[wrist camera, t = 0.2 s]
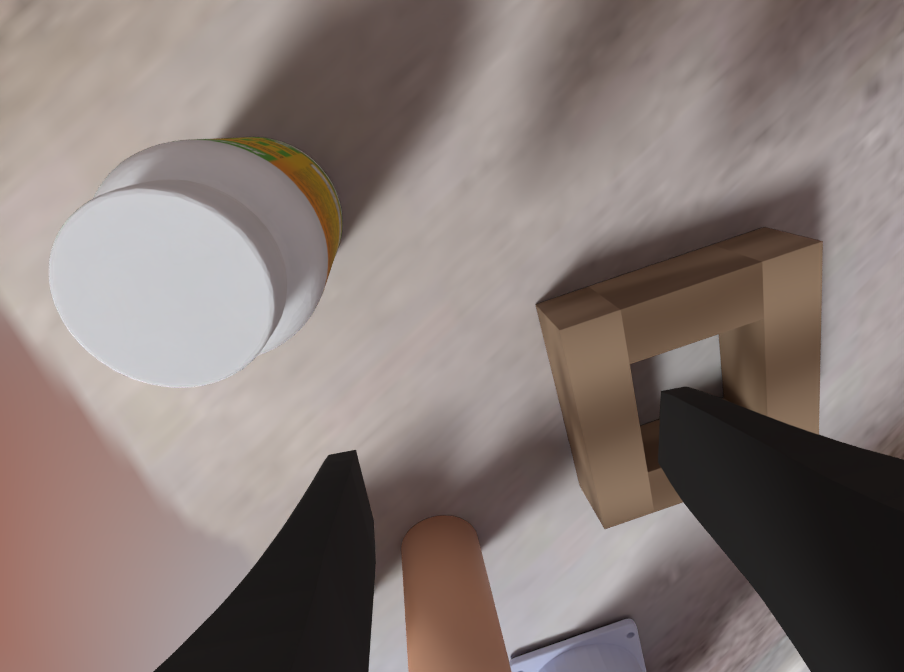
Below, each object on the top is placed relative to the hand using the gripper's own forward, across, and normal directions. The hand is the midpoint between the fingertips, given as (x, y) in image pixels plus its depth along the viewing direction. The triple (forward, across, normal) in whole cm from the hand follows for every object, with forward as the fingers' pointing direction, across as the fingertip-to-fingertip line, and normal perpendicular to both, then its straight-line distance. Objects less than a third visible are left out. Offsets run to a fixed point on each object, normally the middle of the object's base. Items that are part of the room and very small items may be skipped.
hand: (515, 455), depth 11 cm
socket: (+10, -10, +5) cm, 15 cm away
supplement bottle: (+10, +6, -5) cm, 13 cm away
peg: (+10, +2, +13) cm, 16 cm away
